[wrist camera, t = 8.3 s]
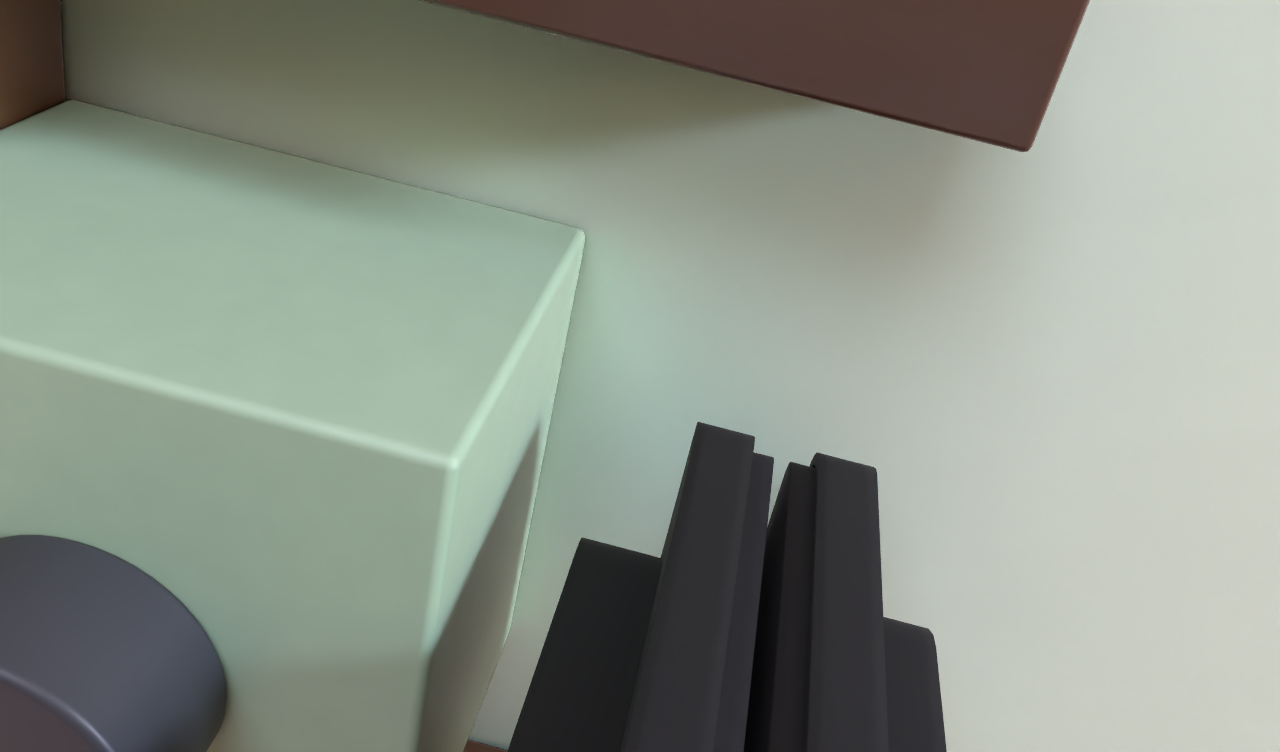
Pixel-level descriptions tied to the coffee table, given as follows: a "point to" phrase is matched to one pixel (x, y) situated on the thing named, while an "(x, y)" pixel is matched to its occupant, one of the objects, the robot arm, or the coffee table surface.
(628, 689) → the robot arm
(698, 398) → the coffee table surface
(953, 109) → the holder
